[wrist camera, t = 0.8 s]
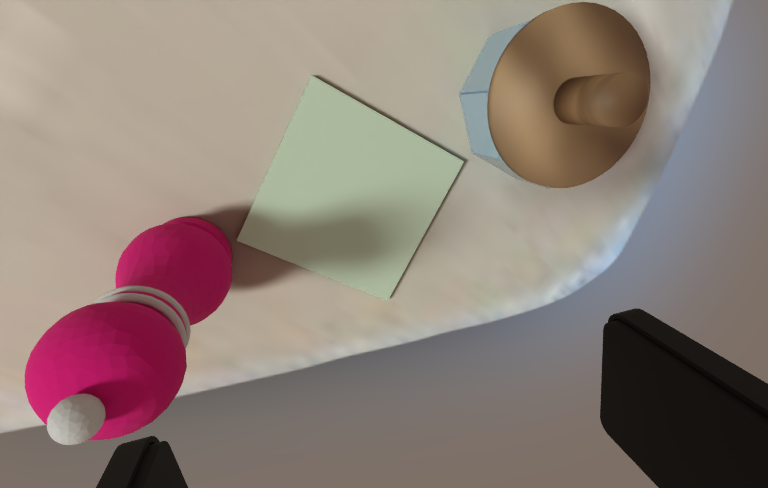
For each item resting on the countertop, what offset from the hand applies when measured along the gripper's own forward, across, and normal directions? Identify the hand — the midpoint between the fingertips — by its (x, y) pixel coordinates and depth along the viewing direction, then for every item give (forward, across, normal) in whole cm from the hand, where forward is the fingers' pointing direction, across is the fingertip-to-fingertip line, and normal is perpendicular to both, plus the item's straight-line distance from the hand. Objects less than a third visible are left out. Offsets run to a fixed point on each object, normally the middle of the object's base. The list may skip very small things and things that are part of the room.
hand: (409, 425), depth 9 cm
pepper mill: (+27, +11, +3) cm, 30 cm away
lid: (+22, -19, -4) cm, 29 cm away
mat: (+27, -2, +2) cm, 27 cm away
